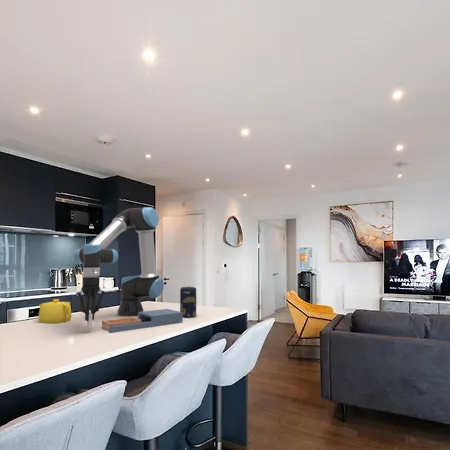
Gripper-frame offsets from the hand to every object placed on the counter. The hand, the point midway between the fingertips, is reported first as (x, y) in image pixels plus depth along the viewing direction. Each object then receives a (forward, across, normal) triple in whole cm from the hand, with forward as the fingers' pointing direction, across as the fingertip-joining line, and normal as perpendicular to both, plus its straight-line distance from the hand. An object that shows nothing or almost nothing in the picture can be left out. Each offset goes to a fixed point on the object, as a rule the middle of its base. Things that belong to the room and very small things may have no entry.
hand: (89, 327), depth 162 cm
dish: (+2, +16, 0) cm, 16 cm away
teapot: (+2, -5, +41) cm, 41 cm away
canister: (+2, +59, +5) cm, 59 cm away
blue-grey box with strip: (+2, +27, 0) cm, 27 cm away
